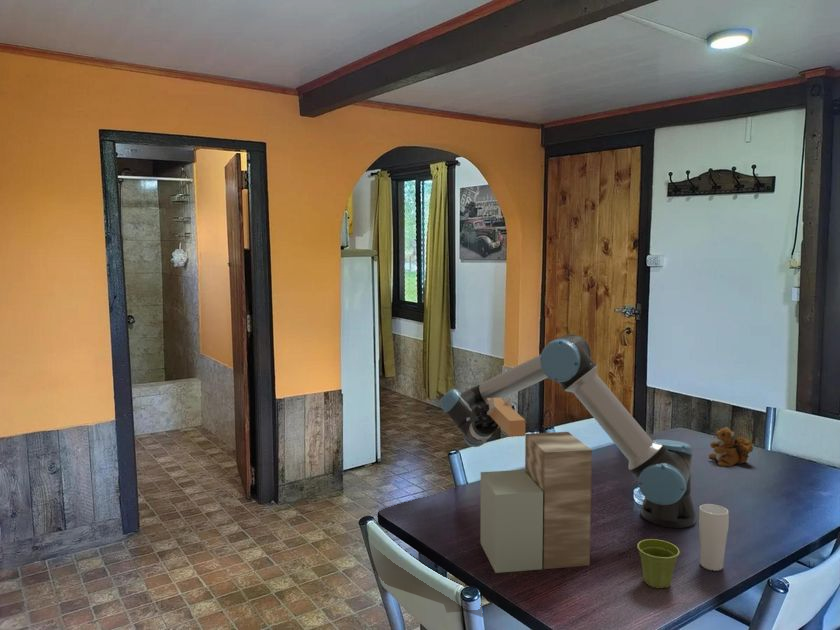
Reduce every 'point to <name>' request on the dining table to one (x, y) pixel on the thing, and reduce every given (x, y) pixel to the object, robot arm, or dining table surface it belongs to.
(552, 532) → the tall stand
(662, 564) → the plant pot
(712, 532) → the drinking glass
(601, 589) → the dining table surface
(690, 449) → the robot arm
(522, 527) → the sage green pillar
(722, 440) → the stuffed squirrel
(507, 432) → the orange bar
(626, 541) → the dining table surface
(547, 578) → the dining table surface
